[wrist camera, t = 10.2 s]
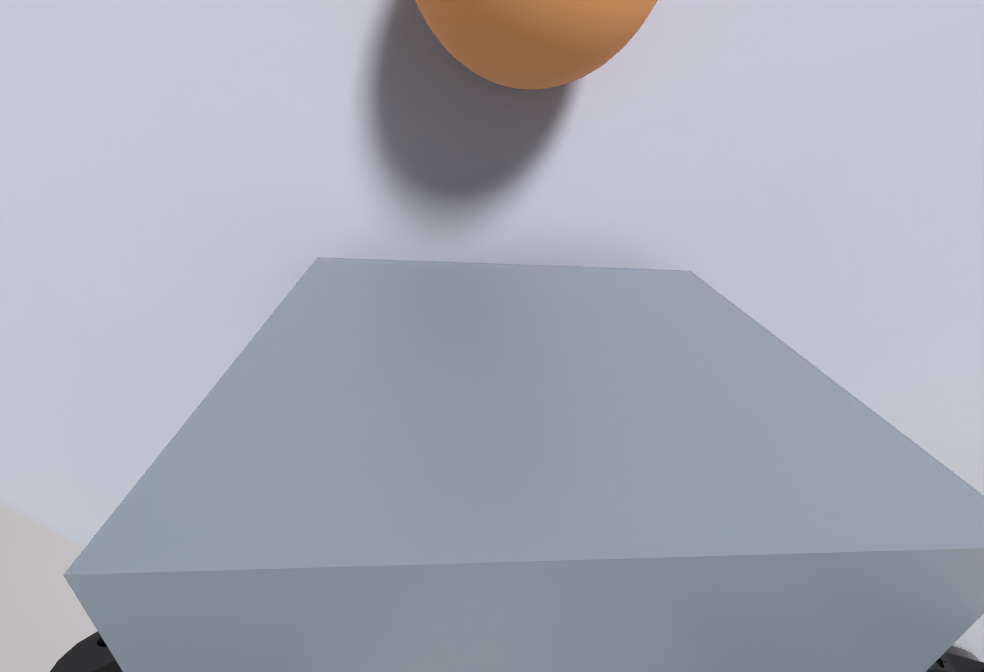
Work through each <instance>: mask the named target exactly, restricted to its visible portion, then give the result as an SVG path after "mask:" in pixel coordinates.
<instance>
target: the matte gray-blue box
mask: <svg viewBox="0 0 984 672" xmlns="http://www.w3.org/2000/svg"><path fill="white" fill-rule="evenodd" d="M64 577H65V578H66V580H67V582H68V583H69V585H70V586H71V588H72V590H73V591H74V593H75V594H76V596H77V598H78V599H79V601H80V602H81V604H82V606H83V608H84V609H85V611H86V612H87V614H88V615H89V617H90V619H91V621H92V622H93V624H94V625H95V627H96V629H97V630H98V632H99V634H100V635H101V637H102V639H103V640H104V642H105V643H106V645H107V647H108V648H109V650H110V652H111V653H112V655H113V656H114V658H115V660H116V661H117V663H118V665H119V666H120V668H121V669H122V671H123V672H926V671H927V670H928V669H929V668H930V667H931V666H932V665H933V664H934V663H935V662H936V661H937V660H938V659H939V658H940V657H941V656H942V655H943V654H944V653H945V652H946V651H947V650H948V649H949V648H950V647H951V646H952V645H953V644H954V643H955V642H956V640H957V639H958V638H959V637H960V636H961V635H962V634H963V633H964V632H965V631H966V630H967V629H968V628H969V627H970V626H971V625H972V624H973V623H974V622H975V621H976V620H977V619H978V618H979V617H980V616H981V615H982V614H983V613H984V496H983V495H982V494H981V493H979V492H978V491H977V490H975V489H974V488H973V487H972V486H970V485H969V484H968V483H966V482H965V481H964V480H962V479H961V478H960V477H959V476H957V475H956V474H955V473H953V472H952V471H951V470H949V469H948V468H947V467H945V466H944V465H943V464H942V463H940V462H939V461H938V460H936V459H935V458H934V457H932V456H931V455H930V454H928V453H927V452H926V451H925V450H923V449H922V448H921V447H919V446H918V445H917V444H915V443H914V442H913V441H912V440H910V439H909V438H908V437H906V436H905V435H904V434H902V433H901V432H900V431H898V430H897V429H896V428H895V427H893V426H892V425H891V424H889V423H888V422H887V421H885V420H884V419H883V418H882V417H880V416H879V415H878V414H876V413H875V412H874V411H872V410H871V409H870V408H868V407H867V406H866V405H865V404H863V403H862V402H861V401H859V400H858V399H857V398H855V397H854V396H853V395H851V394H850V393H849V392H848V391H846V390H845V389H844V388H842V387H841V386H840V385H838V384H837V383H836V382H835V381H833V380H832V379H831V378H829V377H828V376H827V375H825V374H824V373H823V372H821V371H820V370H819V369H818V368H816V367H815V366H814V365H812V364H811V363H810V362H808V361H807V360H806V359H805V358H803V357H802V356H801V355H799V354H798V353H797V352H795V351H794V350H793V349H791V348H790V347H789V346H788V345H786V344H785V343H784V342H782V341H781V340H780V339H778V338H777V337H776V336H774V335H773V334H772V333H771V332H769V331H768V330H767V329H765V328H764V327H763V326H761V325H760V324H759V323H758V322H756V321H755V320H754V319H752V318H751V317H750V316H748V315H747V314H746V313H744V312H743V311H742V310H741V309H739V308H738V307H737V306H735V305H734V304H733V303H731V302H730V301H729V300H728V299H726V298H725V297H724V296H722V295H721V294H720V293H718V292H717V291H716V290H714V289H713V288H712V287H711V286H709V285H708V284H707V283H705V282H704V281H703V280H701V279H700V278H699V277H697V276H696V275H695V274H694V273H692V272H691V271H681V270H653V269H625V268H597V267H569V266H541V265H513V264H485V263H457V262H429V261H401V260H373V259H345V258H317V259H316V260H315V261H314V263H313V264H312V265H311V266H310V268H309V269H308V270H307V271H306V273H305V274H304V275H303V276H302V278H301V279H300V280H299V281H298V283H297V284H296V285H295V286H294V288H293V289H292V290H291V291H290V293H289V294H288V295H287V296H286V298H285V299H284V300H283V301H282V303H281V304H280V305H279V306H278V308H277V309H276V310H275V311H274V313H273V314H272V315H271V316H270V318H269V319H268V320H267V321H266V323H265V324H264V325H263V326H262V328H261V329H260V330H259V331H258V333H257V334H256V335H255V336H254V338H253V339H252V340H251V341H250V343H249V344H248V345H247V346H246V348H245V349H244V350H243V351H242V353H241V354H240V355H239V356H238V358H237V359H236V360H235V361H234V362H233V364H232V365H231V366H230V367H229V369H228V370H227V371H226V372H225V374H224V375H223V376H222V377H221V379H220V380H219V381H218V382H217V384H216V385H215V386H214V387H213V389H212V390H211V391H210V392H209V394H208V395H207V396H206V397H205V399H204V400H203V401H202V402H201V404H200V405H199V406H198V407H197V409H196V410H195V411H194V412H193V414H192V415H191V416H190V417H189V419H188V420H187V421H186V422H185V424H184V425H183V426H182V427H181V429H180V430H179V431H178V432H177V434H176V435H175V436H174V437H173V439H172V440H171V441H170V442H169V444H168V445H167V446H166V447H165V449H164V450H163V451H162V452H161V454H160V455H159V456H158V457H157V459H156V460H155V461H154V462H153V464H152V465H151V466H150V467H149V469H148V470H147V471H146V472H145V474H144V475H143V476H142V477H141V479H140V480H139V481H138V482H137V484H136V485H135V486H134V487H133V489H132V490H131V491H130V492H129V494H128V495H127V496H126V497H125V499H124V500H123V501H122V502H121V504H120V505H119V506H118V507H117V509H116V510H115V511H114V512H113V514H112V515H111V516H110V517H109V519H108V520H107V521H106V522H105V524H104V525H103V526H102V527H101V529H100V530H99V531H98V532H97V534H96V535H95V536H94V537H93V539H92V540H91V541H90V542H89V544H88V545H87V546H86V547H85V549H84V550H83V551H82V552H81V554H80V555H79V556H78V557H77V559H76V560H75V561H74V562H73V564H72V565H71V566H70V567H69V569H68V570H67V571H66V572H65V574H64Z"/></svg>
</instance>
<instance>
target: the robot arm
mask: <svg viewBox="0 0 984 672" xmlns="http://www.w3.org/2000/svg"><path fill="white" fill-rule="evenodd" d="M50 672H123V671H122V669H121V668H120V666H119V665H118V663H117V661H116V660H115V658H114V656H113V655H112V653H111V652H110V650H109V648H108V647H107V645H106V643H105V642H104V640H103V639H102V637H101V635H100V634H99V632H96V633H94V634H92V635H91V636H89V637H87V638H86V639H84V640H82V641H81V642H79V643H77V644H76V645H75V646H74V647H73V648H72V649H71V650H69V651H68V652H67V653H66V654H65V655H64V656H63V657H62V658H60V659H59V660H58V662H57V663H56V664H55V666H54V667H53V668H52V670H51V671H50ZM926 672H984V663H983V662H980V661H979V660H978V659H977V658H976V657H975V656H974V655H973V654H972V653H970V652H968V651H966V650H964V649H961V648H957V647H952V646H951V647H950V648H949V649H948V650H947V651H946V652H945V653H944V654H943V655H942V656H941V657H940V658H939V659H938V660H937V661H936V662H935V663H934V664H933V665H932V666H931V667H930V668H929V669H928V670H927V671H926Z"/></svg>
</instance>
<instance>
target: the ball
mask: <svg viewBox="0 0 984 672" xmlns="http://www.w3.org/2000/svg"><path fill="white" fill-rule="evenodd" d="M415 2H416V4H417V6H418V8H419V10H420V12H421V14H422V16H423V17H424V19H425V21H426V23H427V25H428V26H429V28H430V29H431V31H432V32H433V33H434V35H435V36H436V37H437V39H438V40H439V41H440V43H441V44H442V45H443V47H444V48H445V49H446V50H447V51H448V52H449V53H450V54H451V55H452V56H453V57H454V58H455V59H456V60H458V61H459V62H460V63H461V64H463V65H464V66H465V67H466V68H468V69H469V70H471V71H472V72H474V73H475V74H477V75H479V76H480V77H482V78H484V79H487V80H489V81H491V82H493V83H496V84H499V85H502V86H506V87H511V88H516V89H527V90H532V89H545V88H552V87H556V86H560V85H564V84H567V83H570V82H573V81H575V80H577V79H580V78H582V77H584V76H586V75H587V74H589V73H591V72H592V71H594V70H596V69H597V68H599V67H601V66H602V65H603V64H605V63H606V62H607V61H608V60H609V59H611V58H612V57H613V56H614V55H615V54H616V53H618V52H619V51H620V50H621V49H622V48H623V47H624V46H625V45H626V44H627V43H628V41H629V40H630V39H631V38H632V37H633V36H634V34H635V33H636V32H637V31H638V30H639V28H640V27H641V26H642V24H643V23H644V21H645V20H646V18H647V17H648V15H649V14H650V12H651V10H652V9H653V7H654V5H655V4H656V2H657V0H415Z"/></svg>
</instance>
